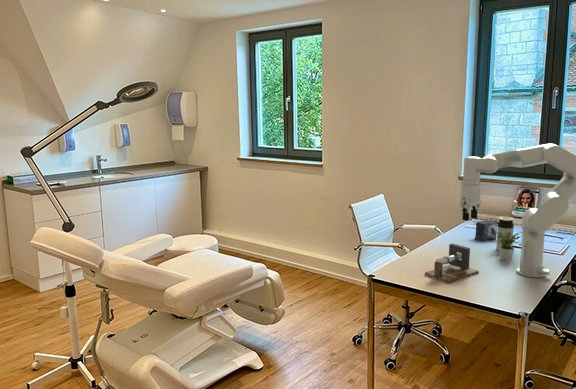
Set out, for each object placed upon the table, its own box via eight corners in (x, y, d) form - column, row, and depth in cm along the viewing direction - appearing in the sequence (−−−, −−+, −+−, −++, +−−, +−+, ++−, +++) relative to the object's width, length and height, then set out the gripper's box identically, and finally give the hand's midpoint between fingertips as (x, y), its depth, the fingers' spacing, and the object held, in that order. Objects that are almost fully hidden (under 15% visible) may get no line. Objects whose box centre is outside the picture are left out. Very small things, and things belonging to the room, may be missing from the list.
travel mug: (509, 247, 273) (511, 216, 270) (514, 252, 266) (516, 219, 262) (494, 247, 274) (496, 216, 271) (499, 251, 266) (501, 219, 263)
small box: (481, 241, 287) (482, 224, 285) (474, 238, 293) (475, 221, 291) (496, 239, 290) (497, 222, 288) (489, 236, 296) (490, 219, 294)
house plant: (525, 264, 245) (528, 233, 242) (496, 263, 248) (498, 232, 245) (518, 256, 259) (520, 226, 256) (490, 254, 262) (492, 225, 259)
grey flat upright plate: (469, 268, 234) (470, 248, 232) (465, 269, 232) (466, 249, 230) (451, 262, 242) (452, 243, 240) (448, 263, 240) (449, 244, 239)
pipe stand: (478, 273, 235) (479, 253, 233) (448, 283, 223) (449, 263, 221) (454, 265, 247) (455, 247, 245) (424, 274, 235) (425, 255, 233)
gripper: (475, 179, 241) (473, 215, 244) (453, 183, 232) (451, 220, 235) (489, 181, 235) (487, 218, 238) (466, 185, 226) (465, 223, 229)
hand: (469, 218), depth 237 cm, fingers open, 5 cm apart
